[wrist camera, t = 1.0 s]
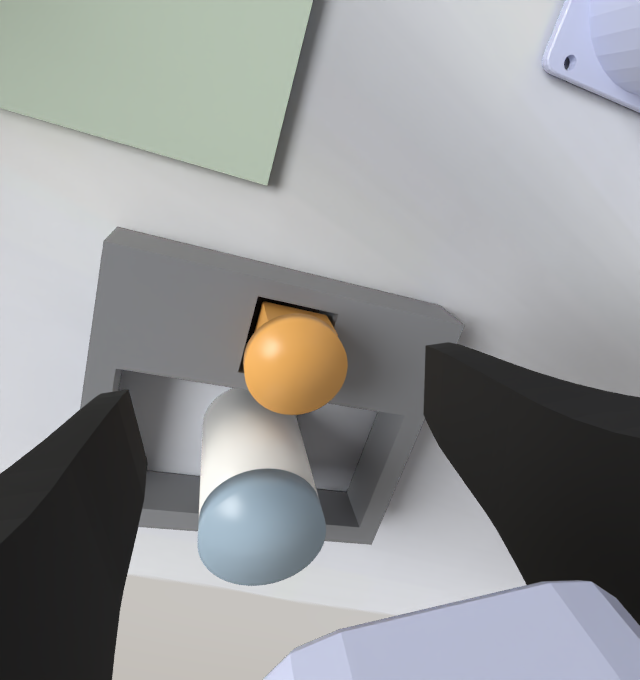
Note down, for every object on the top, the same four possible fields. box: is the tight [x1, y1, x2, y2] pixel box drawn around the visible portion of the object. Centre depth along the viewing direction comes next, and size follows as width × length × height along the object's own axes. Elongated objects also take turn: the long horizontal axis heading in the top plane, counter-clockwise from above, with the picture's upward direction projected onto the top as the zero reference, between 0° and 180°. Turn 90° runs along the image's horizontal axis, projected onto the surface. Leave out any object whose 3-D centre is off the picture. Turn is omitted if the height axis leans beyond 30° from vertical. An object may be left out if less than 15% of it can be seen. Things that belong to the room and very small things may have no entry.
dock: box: [80, 227, 465, 545], centre depth 21 cm, size 14×12×2 cm
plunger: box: [243, 301, 348, 415], centre depth 18 cm, size 4×4×3 cm
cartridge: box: [198, 388, 326, 586], centre depth 20 cm, size 4×4×7 cm
